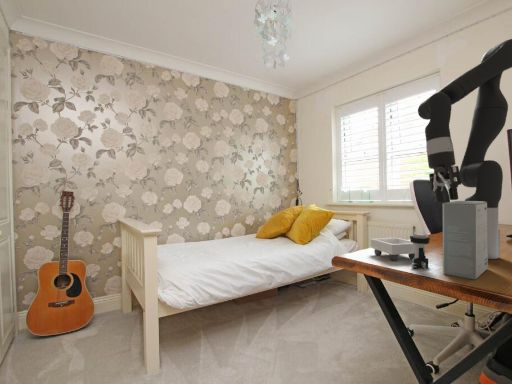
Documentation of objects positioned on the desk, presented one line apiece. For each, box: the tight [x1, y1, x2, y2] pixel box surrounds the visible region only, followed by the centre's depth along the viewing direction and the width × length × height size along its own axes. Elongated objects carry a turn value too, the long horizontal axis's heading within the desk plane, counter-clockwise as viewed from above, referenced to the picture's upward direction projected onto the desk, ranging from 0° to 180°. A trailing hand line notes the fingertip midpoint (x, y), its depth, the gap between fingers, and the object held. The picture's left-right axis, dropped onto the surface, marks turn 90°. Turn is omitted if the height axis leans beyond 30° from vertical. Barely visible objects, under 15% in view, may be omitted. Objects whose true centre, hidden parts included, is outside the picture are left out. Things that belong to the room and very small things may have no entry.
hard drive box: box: [442, 200, 489, 280], centre depth 79 cm, size 16×8×20 cm, turn 131°
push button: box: [409, 232, 431, 270], centre depth 83 cm, size 7×5×10 cm
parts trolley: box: [370, 237, 415, 262], centre depth 96 cm, size 11×11×6 cm
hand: (446, 200), depth 92 cm, fingers open, 8 cm apart
